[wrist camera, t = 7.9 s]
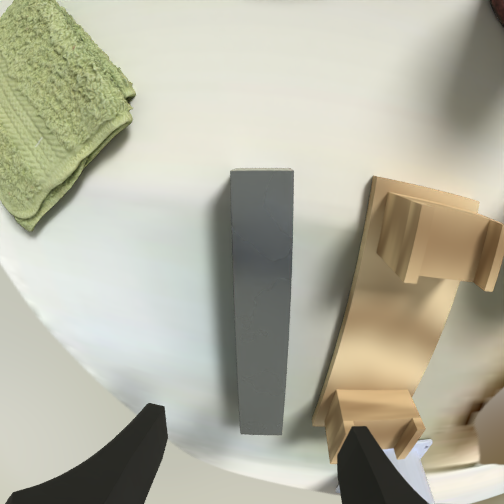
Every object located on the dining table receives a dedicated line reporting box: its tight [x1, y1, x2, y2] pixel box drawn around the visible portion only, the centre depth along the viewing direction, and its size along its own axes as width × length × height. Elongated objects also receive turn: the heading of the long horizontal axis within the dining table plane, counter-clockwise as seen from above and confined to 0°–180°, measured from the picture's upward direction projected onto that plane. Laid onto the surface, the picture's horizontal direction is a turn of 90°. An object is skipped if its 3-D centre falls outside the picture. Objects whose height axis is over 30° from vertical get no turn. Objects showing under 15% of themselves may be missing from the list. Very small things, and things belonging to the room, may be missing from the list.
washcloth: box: [0, 0, 136, 232], centre depth 15 cm, size 13×18×3 cm
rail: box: [230, 168, 294, 435], centre depth 19 cm, size 18×3×3 cm, turn 1°
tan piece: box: [312, 176, 504, 464], centre depth 17 cm, size 19×8×5 cm, turn 174°
